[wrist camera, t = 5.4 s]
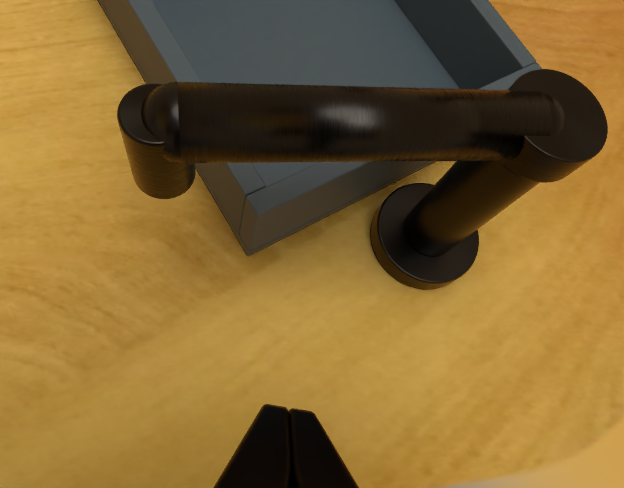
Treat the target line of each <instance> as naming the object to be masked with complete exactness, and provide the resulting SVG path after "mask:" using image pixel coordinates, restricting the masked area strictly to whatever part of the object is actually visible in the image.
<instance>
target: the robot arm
mask: <svg viewBox="0 0 624 488" xmlns="http://www.w3.org/2000/svg"><path fill="white" fill-rule="evenodd" d="M213 488H359V487H358V486H357V484H356V482H355V481H354V479H353V477H352V476H351V474H350V472H349V471H348V469H347V467H346V465H345V464H344V462H343V460H342V459H341V457H340V455H339V454H338V452H337V450H336V449H335V447H334V445H333V444H332V442H331V440H330V439H329V437H328V435H327V434H326V432H325V430H324V429H323V427H322V425H321V424H320V422H319V420H318V419H317V417H316V415H315V414H314V413H313V412H311V411H306V410H300V409H294V408H292V409H290V410H289V411H288V409H287V408H286V407H282V406H276V405H270V404H265V405H264V406H262V408H261V410H260V411H259V413H258V414H257V416H256V418H255V419H254V421H253V423H252V424H251V426H250V428H249V429H248V431H247V433H246V434H245V436H244V438H243V439H242V441H241V443H240V444H239V446H238V448H237V449H236V451H235V453H234V454H233V456H232V458H231V459H230V461H229V463H228V464H227V466H226V468H225V469H224V471H223V473H222V474H221V476H220V478H219V479H218V481H217V482H216V484H215V486H214V487H213Z"/></svg>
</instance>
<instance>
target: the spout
mask: <svg viewBox="0 0 624 488" xmlns="http://www.w3.org/2000/svg"><path fill="white" fill-rule="evenodd" d="M117 119H118V123H119V127H120V130H121V134H122V137H123V141H124V145H125V148H126V152H127V155H128V159H129V163H130V166H131V170H132V173H133V177H134V180H135V183H136V184H137V186H138V187H139V188H140V189H141V190H142V191H143V192H144V193H145V194H147V195H149V196H151V197H154V198H159V199H170V198H175V197H177V196H180V195H181V194H183V193H185V192H186V191H187V190H188V189H189V188H190V186H191V185H192V183H193V181H194V178H195V163H272V162H389V161H501V162H502V163H503V164H504V165H505V166H506V167H507V168H508V169H510V170H511V171H512V172H514V173H515V174H517V175H519V176H521V177H523V178H525V179H528V180H531V181H535V182H545V183H546V182H554V181H558V180H560V179H563V178H564V177H566V176H568V175H569V174H570V173H572V172H573V171H575V170H576V169H577V168H579V167H580V166H582V165H583V164H584V163H586V162H587V161H589V160H590V159H591V158H593V157H594V156H596V155H597V154H598V153H599V152H600V150H601V149H602V148H603V146H604V144H605V142H606V138H607V132H608V127H607V120H606V116H605V113H604V111H603V109H602V107H601V105H600V103H599V101H598V100H597V99H596V97H595V96H594V95H593V94H592V92H591V91H590V90H589V89H588V88H587V87H586V86H584V85H583V84H582V83H581V82H579V81H578V80H576V79H575V78H573V77H571V76H569V75H567V74H565V73H562V72H559V71H555V70H549V69H538V70H533V71H529V72H527V73H525V74H523V75H521V76H520V77H519V78H518V79H517V80H516V81H515V82H514V83H513V84H512V85H511V86H510V88H509V89H508V90H486V89H447V88H407V87H368V86H329V85H289V84H250V83H211V82H169V83H166V84H145V85H141V86H138V87H136V88H134V89H132V90H131V91H129V92H128V93H127V94H126V95H125V96H124V97H123V98H122V100H121V102H120V104H119V106H118V110H117Z"/></svg>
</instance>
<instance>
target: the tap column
mask: <svg viewBox="0 0 624 488" xmlns="http://www.w3.org/2000/svg"><path fill="white" fill-rule="evenodd" d="M538 183H540V182H535V181H531V180H528V179H525V178H523V177H521V176H519V175H517V174H515V173H514V172H512V171H511V170H510V169H508V168H507V167H506V166H505V165H504V164H503V163H502V162H501V161H457V162H456V163H455V164H454V165H453V166H452V167H451V168H450V169H449V170H448V171H447V172H446V174H445V175H444V176H443V177H442V178H441V179H440V180H439V181H438V182H437V183H436V184H435V185H432V184H426V183H414V184H409V185H405V186H402V187H400V188H398V189H396V190H395V191H394V192H392V193H391V194H390V195H389V196H388V197H387V198H386V199H385V201H384V202H383V203H382V205H381V206H380V207H379V208H378V210H377V212H376V213H375V215H374V218H373V221H372V225H371V241H372V246H373V249H374V252H375V254H376V257H377V259H378V260H379V262H380V263H381V265H382V266H383V267H384V269H385V270H386V271H387V272H388V273H389V274H390V275H391V276H393V277H394V278H395V279H397V280H398V281H400V282H402V283H404V284H406V285H408V286H411V287H414V288H419V289H436V288H440V287H443V286H445V285H448V284H449V283H451V282H453V281H454V280H456V279H458V278H459V277H461V276H462V275H463V274H465V273H466V272H467V271H468V270H469V268H470V267H471V266H472V264H473V263H474V260H475V258H476V255H477V252H478V246H479V236H478V230H477V229H478V228H480V227H481V226H482V225H484V224H485V223H486V222H488V221H489V220H490V219H492V218H493V217H494V216H496V215H497V214H498V213H500V212H501V211H502V210H504V209H505V208H506V207H508V206H509V205H510V204H512V203H513V202H514V201H516V200H517V199H518V198H520V197H521V196H522V195H524V194H525V193H526V192H528V191H529V190H530V189H532V188H533V187H534V186H536V185H537V184H538Z"/></svg>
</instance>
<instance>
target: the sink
mask: <svg viewBox="0 0 624 488" xmlns="http://www.w3.org/2000/svg"><path fill="white" fill-rule="evenodd" d="M98 2H99V3H100V5H101V7H102V8H103V10H104V12H105V14H106V15H107V17H108V19H109V20H110V22H111V24H112V26H113V27H114V29H115V31H116V32H117V34H118V36H119V37H120V39H121V41H122V43H123V44H124V46H125V48H126V49H127V51H128V53H129V55H130V56H131V58H132V60H133V61H134V63H135V65H136V66H137V68H138V70H139V72H140V73H141V75H142V77H143V78H144V80H145V82H146V84H166V83H169V82H211V83H250V84H289V85H329V86H368V87H407V88H447V89H486V90H508V89H509V88H510V86H511V85H512V84H513V83H514V82H515V81H516V80H517V79H518V78H519V77H520V76H521V75H523V74H525V73H527V72H529V71H533V70H538V69H542V68H541V67H540V66H539V64H538V63H535V62H536V60H535V59H534V58H533V56H532V55H531V54H530V52H529V51H528V50H527V49H526V47H525V46H524V45H523V44H522V42H521V41H520V40H519V39H518V37H517V36H516V35H515V34H514V32H513V31H512V30H511V29H510V27H509V26H508V25H507V24H506V22H505V21H504V20H503V18H502V17H501V16H500V15H499V13H498V12H497V11H496V10H495V8H494V7H493V6H492V5H491V3H490V2H489V1H488V0H98ZM433 162H435V161H389V162H272V163H195V167H196V169H197V171H198V172H199V174H200V176H201V177H202V179H203V181H204V182H205V184H206V186H207V188H208V189H209V191H210V193H211V194H212V196H213V198H214V200H215V201H216V203H217V205H218V206H219V208H220V210H221V211H222V213H223V215H224V217H225V218H226V220H227V222H228V223H229V225H230V227H231V229H232V230H233V232H234V234H235V235H236V237H237V239H238V240H239V242H240V244H241V246H242V247H243V249H244V251H245V252H246V254H247V255H248V256H250V255H252V254H254V253H256V252H258V251H260V250H262V249H264V248H266V247H268V246H270V245H272V244H274V243H275V242H277V241H279V240H281V239H283V238H285V237H287V236H289V235H291V234H293V233H295V232H297V231H299V230H301V229H303V228H305V227H307V226H309V225H311V224H313V223H315V222H317V221H319V220H321V219H323V218H325V217H327V216H329V215H331V214H333V213H335V212H337V211H339V210H341V209H343V208H345V207H347V206H348V205H350V204H352V203H354V202H356V201H358V200H360V199H362V198H364V197H366V196H368V195H370V194H372V193H374V192H376V191H378V190H380V189H382V188H384V187H386V186H388V185H390V184H392V183H394V182H396V181H398V180H400V179H402V178H404V177H406V176H408V175H410V174H412V173H414V172H416V171H418V170H420V169H421V168H423V167H425V166H427V165H429V164H431V163H433Z"/></svg>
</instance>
